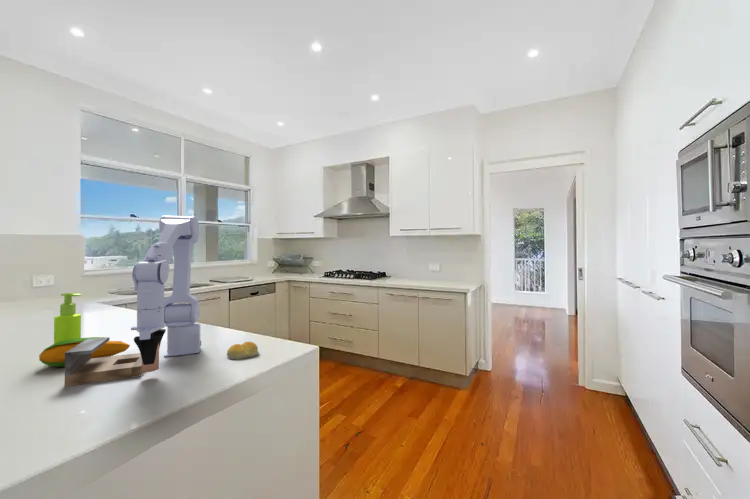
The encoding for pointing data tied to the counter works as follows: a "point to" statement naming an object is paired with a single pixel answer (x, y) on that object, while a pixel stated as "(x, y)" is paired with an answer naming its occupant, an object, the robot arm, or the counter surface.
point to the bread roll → (242, 350)
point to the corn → (57, 351)
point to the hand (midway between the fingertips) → (150, 361)
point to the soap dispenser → (67, 320)
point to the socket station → (98, 364)
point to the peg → (152, 366)
